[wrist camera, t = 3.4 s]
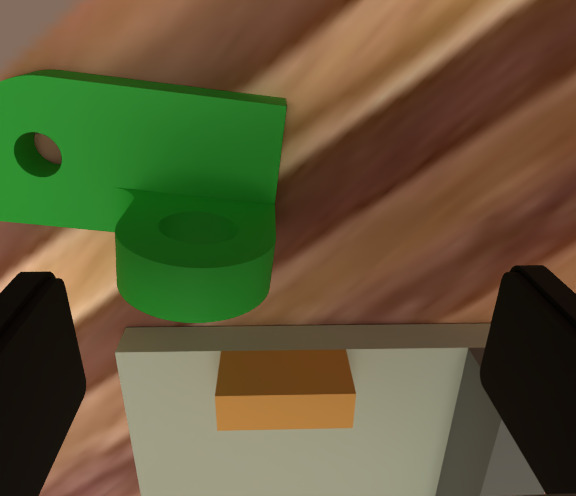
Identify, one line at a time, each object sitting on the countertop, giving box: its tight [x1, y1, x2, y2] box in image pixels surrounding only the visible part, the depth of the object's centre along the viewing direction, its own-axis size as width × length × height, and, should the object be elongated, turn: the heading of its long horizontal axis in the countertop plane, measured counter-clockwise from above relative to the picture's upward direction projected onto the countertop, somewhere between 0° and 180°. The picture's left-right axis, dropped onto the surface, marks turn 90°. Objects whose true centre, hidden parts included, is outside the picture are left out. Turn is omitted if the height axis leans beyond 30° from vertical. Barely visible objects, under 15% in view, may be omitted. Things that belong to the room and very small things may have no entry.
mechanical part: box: [0, 70, 287, 323], centre depth 17 cm, size 12×6×8 cm, turn 83°
